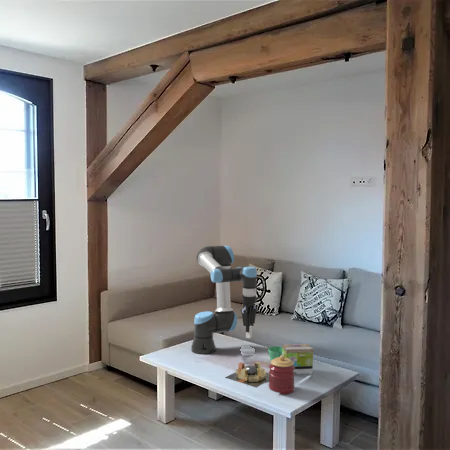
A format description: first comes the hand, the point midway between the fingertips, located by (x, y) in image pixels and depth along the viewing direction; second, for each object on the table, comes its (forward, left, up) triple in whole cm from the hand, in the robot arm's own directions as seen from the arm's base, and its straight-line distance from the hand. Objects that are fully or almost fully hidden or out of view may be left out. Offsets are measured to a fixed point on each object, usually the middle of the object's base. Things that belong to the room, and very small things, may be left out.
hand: (248, 337), depth 267 cm
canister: (+26, -8, -20) cm, 34 cm away
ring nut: (+6, -6, -18) cm, 21 cm away
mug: (+8, +20, -20) cm, 29 cm away
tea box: (+21, +17, -20) cm, 33 cm away
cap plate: (+6, -6, -19) cm, 21 cm away
